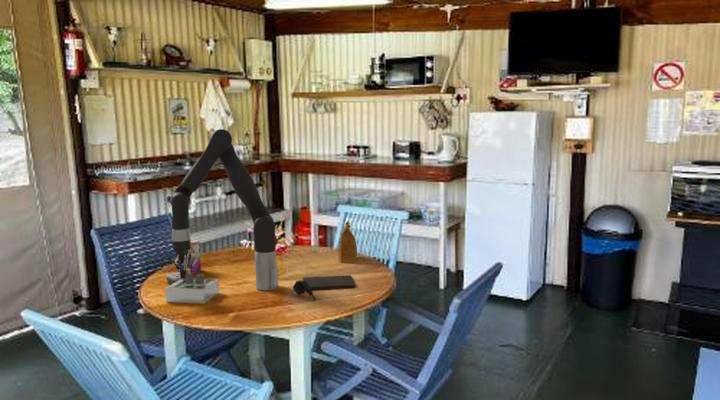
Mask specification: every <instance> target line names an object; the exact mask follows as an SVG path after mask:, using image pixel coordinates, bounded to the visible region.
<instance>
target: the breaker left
mask: <svg viewBox="0 0 720 400" xmlns="http://www.w3.org/2000/svg"><path fill="white" fill-rule="evenodd" d="M195 279H196V284H195V286H201V287H202V286H204V285H205V284H206V282H204V279H205V274H203V273H202V274H201V273H197V274H196V275H195Z"/></svg>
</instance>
